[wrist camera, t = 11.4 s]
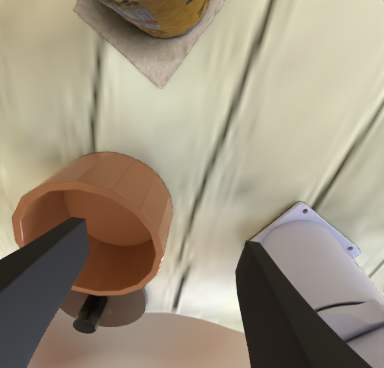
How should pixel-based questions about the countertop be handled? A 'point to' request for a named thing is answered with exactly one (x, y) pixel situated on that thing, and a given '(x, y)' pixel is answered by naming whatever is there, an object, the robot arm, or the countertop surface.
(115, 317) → the pot lid
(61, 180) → the terracotta bowl
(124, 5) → the condiment
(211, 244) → the countertop surface
